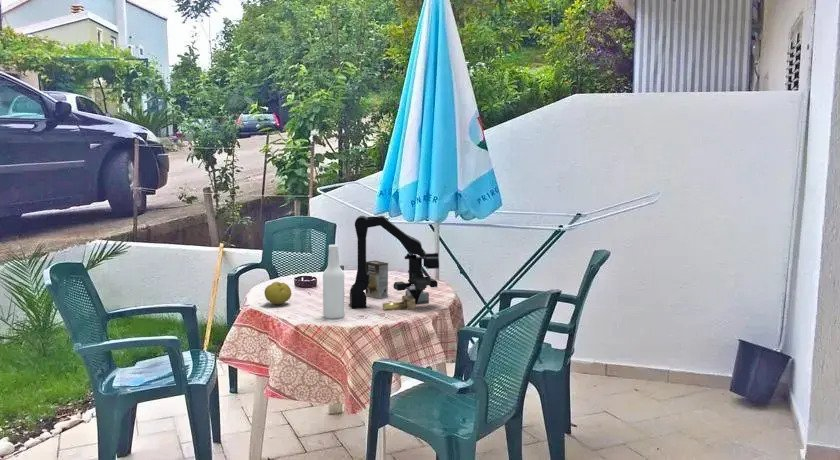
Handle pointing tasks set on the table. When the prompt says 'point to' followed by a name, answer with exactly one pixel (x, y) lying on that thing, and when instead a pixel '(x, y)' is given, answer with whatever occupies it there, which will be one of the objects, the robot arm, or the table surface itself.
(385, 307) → the axle
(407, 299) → the bearing block
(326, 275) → the alcohol
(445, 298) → the table surface
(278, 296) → the fruit
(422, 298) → the v block
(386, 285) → the coffee box
